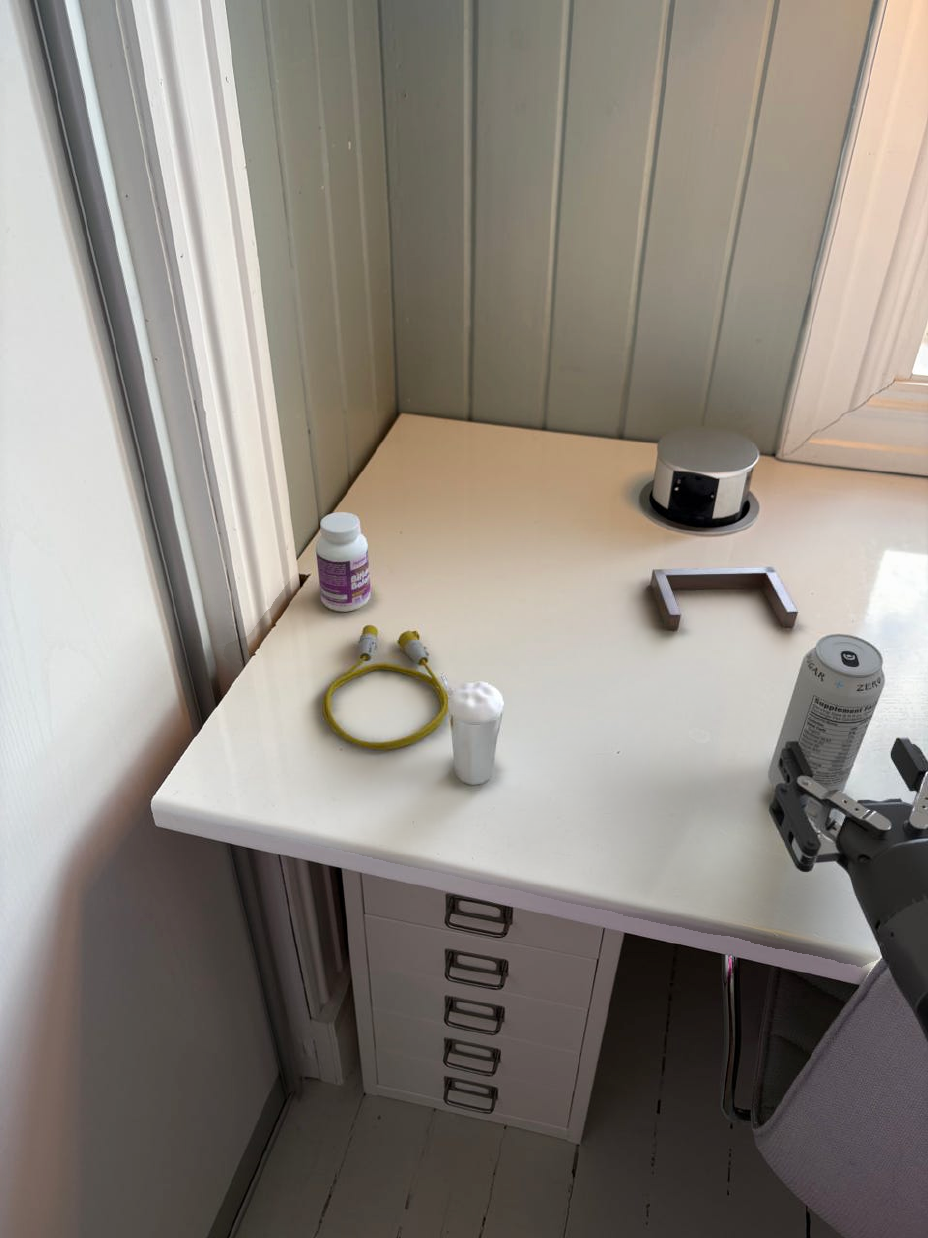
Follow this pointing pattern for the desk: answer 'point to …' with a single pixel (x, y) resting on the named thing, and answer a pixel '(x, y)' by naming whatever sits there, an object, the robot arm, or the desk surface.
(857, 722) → the energy drink can
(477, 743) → the milkshake
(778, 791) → the robot arm
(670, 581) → the bay
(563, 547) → the desk surface
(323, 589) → the pill bottle
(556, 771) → the desk surface
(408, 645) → the extension cord
